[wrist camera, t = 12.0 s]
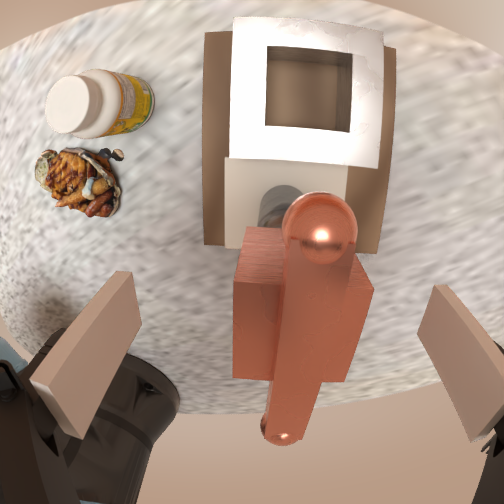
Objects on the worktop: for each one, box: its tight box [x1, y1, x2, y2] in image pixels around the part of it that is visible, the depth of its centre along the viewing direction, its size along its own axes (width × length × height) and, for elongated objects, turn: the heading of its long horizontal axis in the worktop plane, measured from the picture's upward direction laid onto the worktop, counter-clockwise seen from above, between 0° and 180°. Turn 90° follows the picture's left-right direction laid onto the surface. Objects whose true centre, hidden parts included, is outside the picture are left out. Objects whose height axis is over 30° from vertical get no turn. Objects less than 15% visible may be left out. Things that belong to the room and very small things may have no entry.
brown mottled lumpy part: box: [35, 148, 124, 217], centre depth 25 cm, size 7×12×4 cm, turn 82°
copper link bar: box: [233, 185, 374, 446], centre depth 17 cm, size 11×5×18 cm, turn 177°
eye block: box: [230, 17, 384, 169], centre depth 19 cm, size 10×10×5 cm
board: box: [202, 31, 396, 254], centre depth 23 cm, size 16×19×1 cm
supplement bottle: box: [45, 69, 154, 139], centre depth 19 cm, size 5×5×10 cm
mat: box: [225, 157, 348, 249], centre depth 25 cm, size 10×8×1 cm
